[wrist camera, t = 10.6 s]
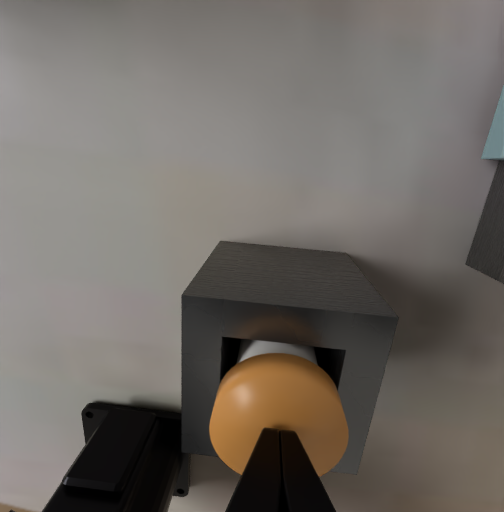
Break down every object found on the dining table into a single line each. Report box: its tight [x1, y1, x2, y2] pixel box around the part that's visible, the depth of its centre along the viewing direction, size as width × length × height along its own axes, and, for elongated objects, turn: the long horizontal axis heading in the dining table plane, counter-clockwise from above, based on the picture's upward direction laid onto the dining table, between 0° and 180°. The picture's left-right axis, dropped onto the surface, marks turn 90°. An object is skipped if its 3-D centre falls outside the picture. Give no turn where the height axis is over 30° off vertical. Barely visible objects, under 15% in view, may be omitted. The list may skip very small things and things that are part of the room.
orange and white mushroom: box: [209, 339, 349, 477], centre depth 11 cm, size 4×4×7 cm
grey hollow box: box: [182, 241, 399, 475], centre depth 12 cm, size 6×6×6 cm
